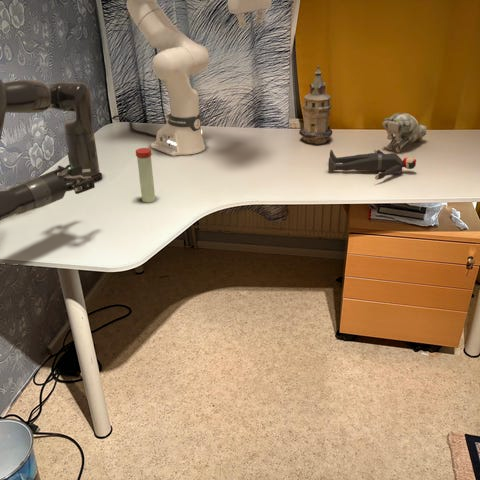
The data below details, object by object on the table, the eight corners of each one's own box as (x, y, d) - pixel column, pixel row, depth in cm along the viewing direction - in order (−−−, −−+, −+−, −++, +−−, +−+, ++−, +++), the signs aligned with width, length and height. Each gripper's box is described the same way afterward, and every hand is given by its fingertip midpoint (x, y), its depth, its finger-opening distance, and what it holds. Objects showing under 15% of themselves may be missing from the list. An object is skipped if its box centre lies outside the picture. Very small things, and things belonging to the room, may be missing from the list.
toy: (331, 141, 202) (414, 142, 196) (330, 157, 205) (412, 158, 199) (326, 167, 180) (420, 168, 174) (326, 184, 183) (418, 186, 177)
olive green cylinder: (142, 203, 170) (137, 154, 162) (141, 197, 174) (135, 150, 166) (156, 201, 171) (151, 153, 163) (154, 196, 175) (149, 148, 167)
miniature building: (320, 132, 228) (325, 59, 214) (338, 142, 217) (344, 66, 203) (293, 137, 224) (296, 63, 209) (310, 147, 213) (314, 69, 198)
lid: (136, 158, 163) (136, 153, 162) (135, 153, 167) (134, 148, 166) (152, 157, 164) (152, 152, 163) (150, 151, 168) (150, 147, 167)
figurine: (412, 164, 205) (438, 136, 214) (399, 121, 196) (426, 94, 205) (390, 163, 212) (416, 137, 221) (377, 122, 203) (404, 96, 212)
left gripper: (55, 184, 134) (106, 164, 145) (22, 171, 141) (72, 154, 152) (61, 211, 137) (109, 190, 148) (28, 197, 145) (77, 179, 156)
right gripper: (260, -24, 177) (260, 21, 184) (223, -20, 162) (224, 29, 169) (276, -23, 174) (275, 22, 180) (240, -19, 159) (241, 30, 166)
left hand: (91, 172), depth 150 cm, fingers open, 8 cm apart
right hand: (250, 25), depth 175 cm, fingers open, 8 cm apart
